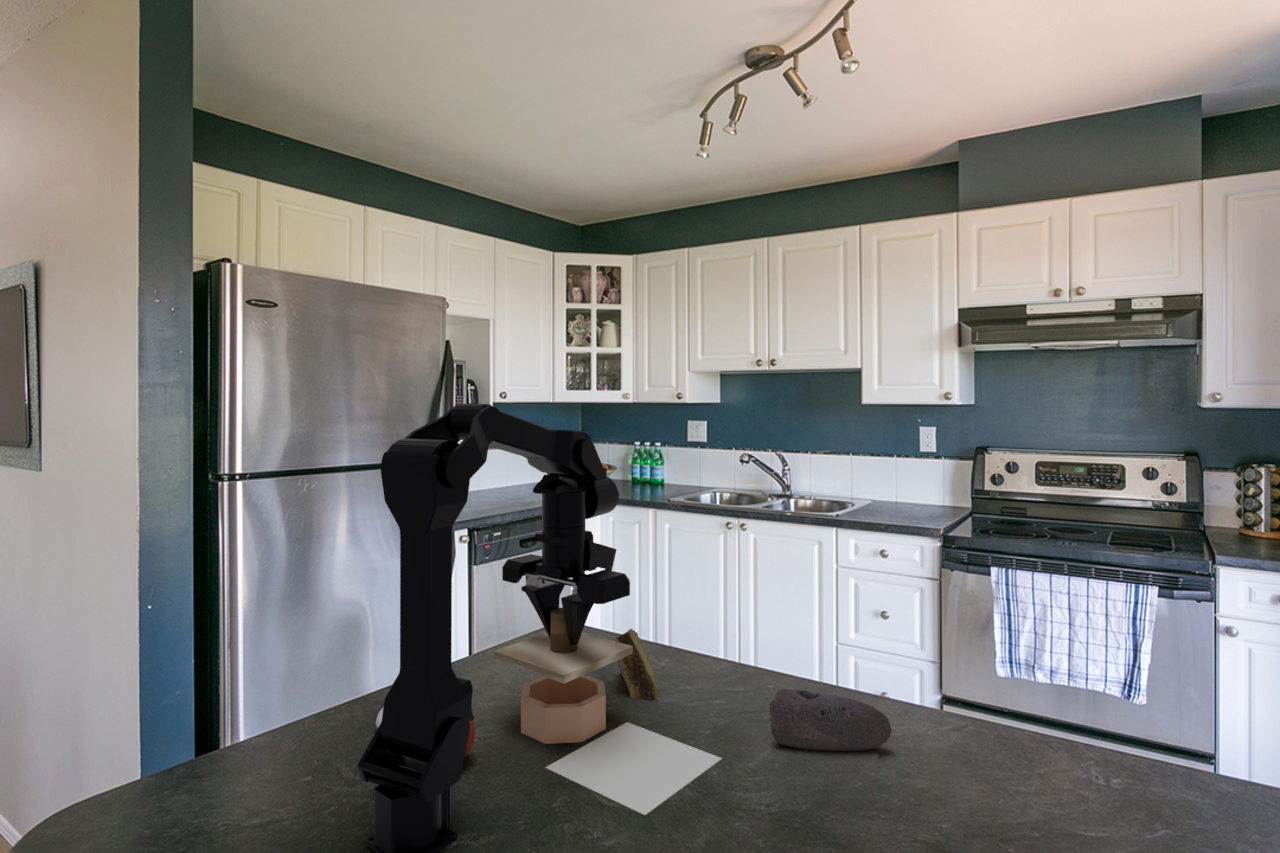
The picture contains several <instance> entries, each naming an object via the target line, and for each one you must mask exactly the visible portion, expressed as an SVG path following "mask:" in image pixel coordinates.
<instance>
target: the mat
mask: <svg viewBox="0 0 1280 853" xmlns="http://www.w3.org/2000/svg"><path fill="white" fill-rule="evenodd" d="M722 759H723V757H720V756H718V755H715V754H712V753H709V752H707V751H705V750H702V749H699V748H696V747H694V746H690V745H688V744H686V743H683V742H681V741H679V740H678V741H677V740H675V739H672V738H670V737H667V736H665V735H662V734H660V733H657V732H653V731H651V730H649V729H646V728H643V727H641V726H639V725H636V724H633V723H632V722H628V721H627V722H625V723H623V724H622V725H619V726H618V727H616V728H614V729H611V730H610V731H608V732H606V733H605V734H603V735H601V736H600V737H597V738H595V739H594V740H593V741H590V742H589V743H587V744H585V745H584V746H582V747H580V748H577V749H576V750H575V751H572V752H571V753H568V754H566V756H563V757H562V758H560V759H558V760H557V761H555V762H553V763H550V764H549V765H547V766H545V767H544V768H545V769H547V770H549V771H551V772H553V773H555V774H557V775H560V776H562V777H564V778H566V779H568V780H570V781H572V782H574V783H577V784H579V785H581V786H583V787H584V788H587V789H588V790H590V791H593V792H595V793H597V794H599V795H601V796H604V797H605V798H608V799H610V800H612V801H614V802H616V803H618V804H620V805H622V806H624V807H627V808H628V809H631V810H632V811H635V812H637V813H639V814H641V815H643V816H646V815H648V814H649V813H650V812H652V811H653V810H654V809H655V808H657V807H659V806H660V805H661V804H663V803H664V802H665V801H667V800H668V799H670V798H671V797H672V796H673V795H675V794H676V793H677V792H679V791H680V790H681V789H683V788H685V787H686V786H687V785H688V784H690V783H691V782H693V781H694V780H696V779H697V778H698V777H699V776H700V775H702V774H703V773H705V772H706V771H707V770H709V769H710V768H712V767H713V766H715V765H716V764H717V763H718V762H720V761H721V760H722Z"/></svg>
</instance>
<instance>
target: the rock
mask: <svg viewBox="0 0 1280 853" xmlns="http://www.w3.org/2000/svg"><path fill="white" fill-rule="evenodd" d="M615 641H616V642H620V643H623V644H626V645H630V646H633V654H631V655H628V656H626V657H624V658H622V659H619V660H617V662H618V663H617V664H618V667H619V670H620V671H619V672H620V675H621V676H622V679H623V680H624V682H625V685H626V686H627V689H628V692H629V696H630V698H631V699H635V700H643V701H660V697H659V692H658V688H657V685H656V684H657V682H656V678H655V677H656V674H655V670H654V667H653V664H652V662H651V661H650V658H649V655H648V654H647V652H646V651H645V649H644V646H643V642H642V640H641V638H640V637H639V634H638V632H636V631H635V630H634V629H632V628H630V629H628V630H627V631H626V632H624V633H623V634H620V635H618V636H616V638H615Z"/></svg>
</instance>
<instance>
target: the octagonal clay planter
mask: <svg viewBox="0 0 1280 853" xmlns="http://www.w3.org/2000/svg"><path fill="white" fill-rule="evenodd" d="M521 690H522V691H521V696H520V734H523V735H524V736H527V737H529V738H531V739H534V740H536V741H538V742H540V743H543V744H545V745H546V744H548V745H549V744H551V745H552V744H570V743H572V744H573V743H583V742H584V741H587V740H588V739H590V738H592V737H593V736H596V735H597V734H599V733H600V732H603V731H605V730H606V729H607V727H606V726H607V724H606V723H607V721H606V720H607V718H606V715H607V709H606V708H607V706H606V705H607V695H606V689H605V681H604V680H602V679H598V678H596V677H592V676H589V675H588V674H585V675H583V676H580V677H578V678H576V679H573V680H571V681H569V682H567V683H561V682H558V681H555V680H553V679H550V678H547V677H544V676H542V675H541V676H540V677H537V678H535V679H532V680H530V681H527V682H526V683H522V689H521Z"/></svg>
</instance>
